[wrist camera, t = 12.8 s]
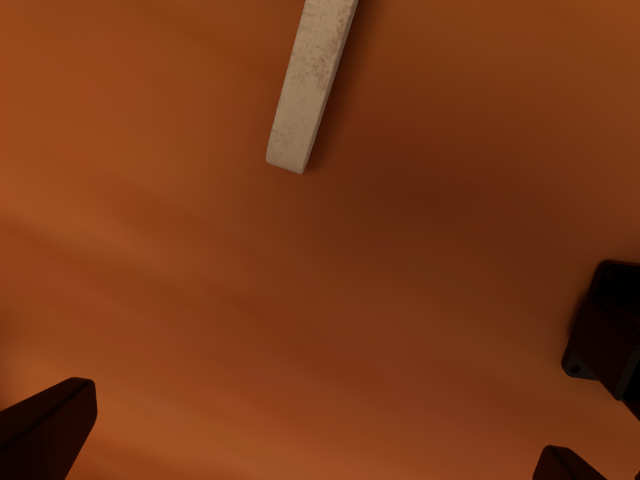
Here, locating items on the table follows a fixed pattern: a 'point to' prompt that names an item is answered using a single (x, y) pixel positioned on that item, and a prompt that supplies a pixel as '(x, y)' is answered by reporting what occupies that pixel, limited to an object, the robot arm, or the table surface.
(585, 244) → the table surface
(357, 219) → the table surface
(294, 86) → the wrench
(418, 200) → the table surface
